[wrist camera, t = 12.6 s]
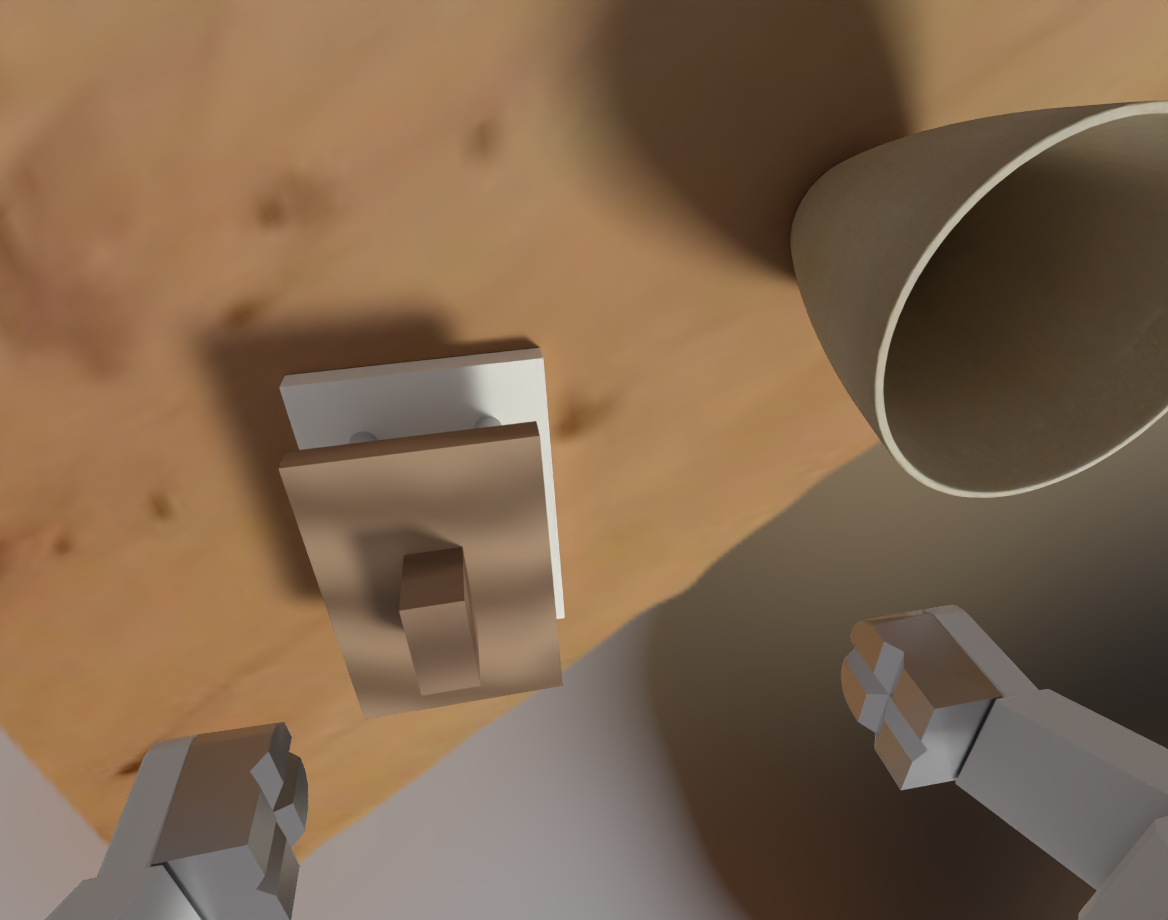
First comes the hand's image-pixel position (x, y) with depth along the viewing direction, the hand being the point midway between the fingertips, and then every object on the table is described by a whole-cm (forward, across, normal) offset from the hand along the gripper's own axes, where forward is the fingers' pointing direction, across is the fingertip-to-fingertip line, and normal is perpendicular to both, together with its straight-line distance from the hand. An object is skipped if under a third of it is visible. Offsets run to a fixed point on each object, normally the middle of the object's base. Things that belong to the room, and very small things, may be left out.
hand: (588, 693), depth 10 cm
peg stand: (+29, +4, +18) cm, 34 cm away
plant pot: (+29, -21, +2) cm, 36 cm away
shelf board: (+23, +4, +18) cm, 29 cm away
